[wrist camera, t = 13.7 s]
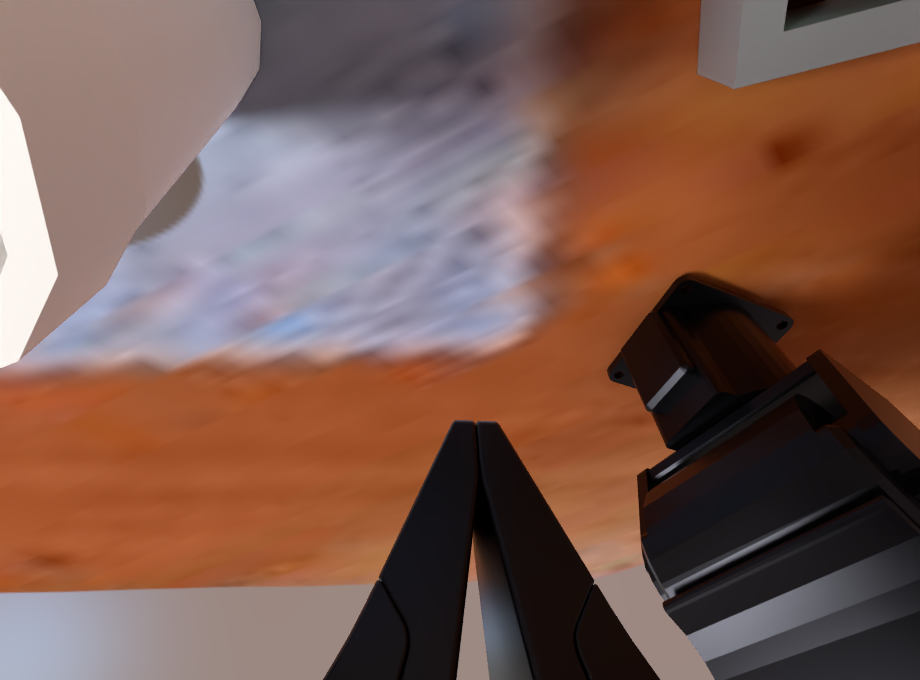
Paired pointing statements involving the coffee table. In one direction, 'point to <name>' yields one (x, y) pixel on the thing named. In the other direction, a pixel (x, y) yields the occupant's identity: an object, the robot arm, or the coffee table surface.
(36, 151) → the foam cup
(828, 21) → the button housing
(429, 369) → the coffee table surface
